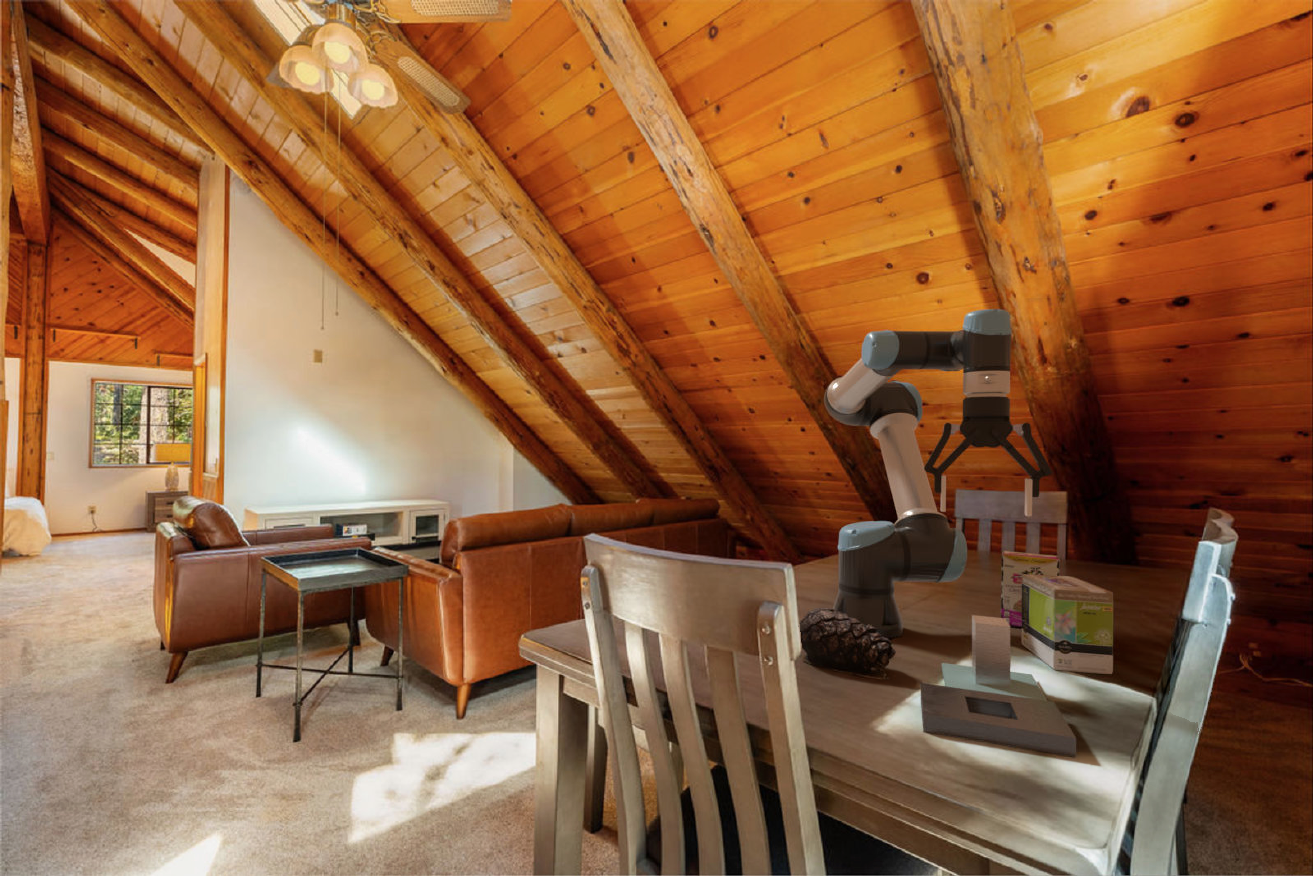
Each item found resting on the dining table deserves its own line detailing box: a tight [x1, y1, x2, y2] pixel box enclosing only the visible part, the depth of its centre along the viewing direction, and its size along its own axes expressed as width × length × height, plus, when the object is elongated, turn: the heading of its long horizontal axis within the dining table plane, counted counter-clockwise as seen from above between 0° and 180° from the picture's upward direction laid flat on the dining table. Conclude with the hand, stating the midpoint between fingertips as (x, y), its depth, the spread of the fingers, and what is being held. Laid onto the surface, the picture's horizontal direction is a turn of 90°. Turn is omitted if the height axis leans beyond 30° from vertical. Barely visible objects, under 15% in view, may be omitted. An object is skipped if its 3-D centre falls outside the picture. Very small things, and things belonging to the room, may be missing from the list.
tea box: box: [1020, 574, 1114, 675], centre depth 114 cm, size 15×10×15 cm, turn 168°
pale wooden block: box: [971, 614, 1011, 688], centre depth 100 cm, size 5×5×10 cm
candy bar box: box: [1000, 550, 1060, 628], centre depth 134 cm, size 11×5×16 cm, turn 58°
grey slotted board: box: [920, 682, 1077, 758], centre depth 86 cm, size 18×12×2 cm, turn 68°
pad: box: [941, 662, 1048, 701], centre depth 100 cm, size 14×12×1 cm
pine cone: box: [799, 606, 897, 680], centre depth 110 cm, size 10×18×10 cm, turn 59°
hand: (984, 513), depth 108 cm, fingers open, 13 cm apart
